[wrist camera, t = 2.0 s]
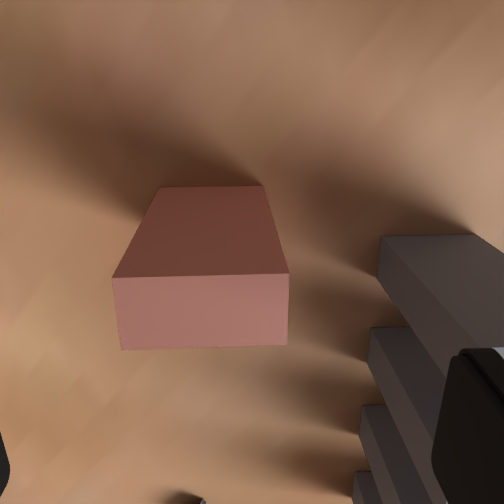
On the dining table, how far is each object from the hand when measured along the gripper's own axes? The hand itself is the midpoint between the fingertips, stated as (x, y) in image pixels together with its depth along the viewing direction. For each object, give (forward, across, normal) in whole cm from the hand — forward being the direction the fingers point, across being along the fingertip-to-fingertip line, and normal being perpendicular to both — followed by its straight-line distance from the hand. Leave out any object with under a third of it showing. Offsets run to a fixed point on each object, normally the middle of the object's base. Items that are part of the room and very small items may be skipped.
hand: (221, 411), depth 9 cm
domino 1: (+14, +1, 0) cm, 14 cm away
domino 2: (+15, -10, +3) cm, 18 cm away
